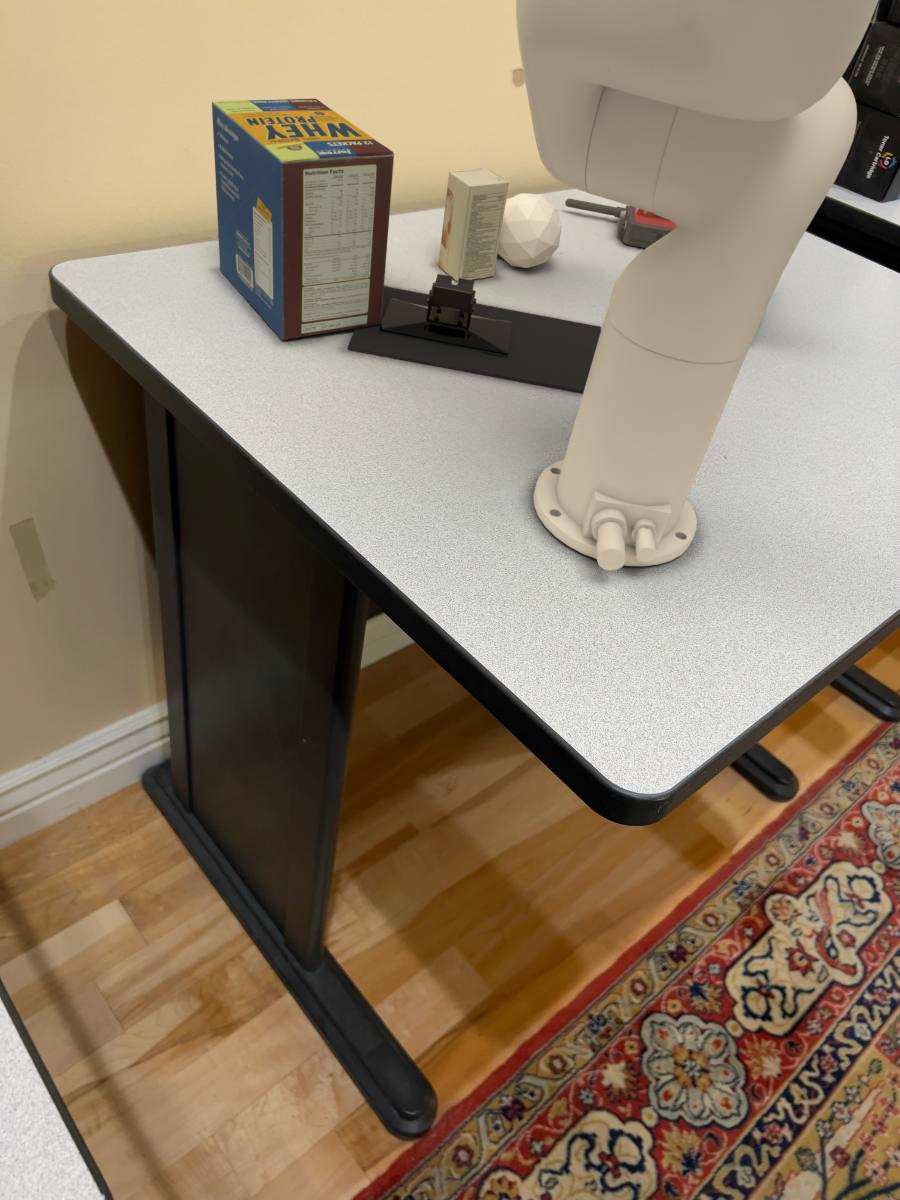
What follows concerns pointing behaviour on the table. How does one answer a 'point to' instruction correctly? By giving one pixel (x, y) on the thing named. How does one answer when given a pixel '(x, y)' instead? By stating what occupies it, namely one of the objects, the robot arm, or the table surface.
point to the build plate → (448, 319)
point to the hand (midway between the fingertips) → (798, 68)
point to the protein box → (302, 213)
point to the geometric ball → (529, 230)
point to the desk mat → (534, 356)
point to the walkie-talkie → (631, 222)
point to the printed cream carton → (472, 223)
